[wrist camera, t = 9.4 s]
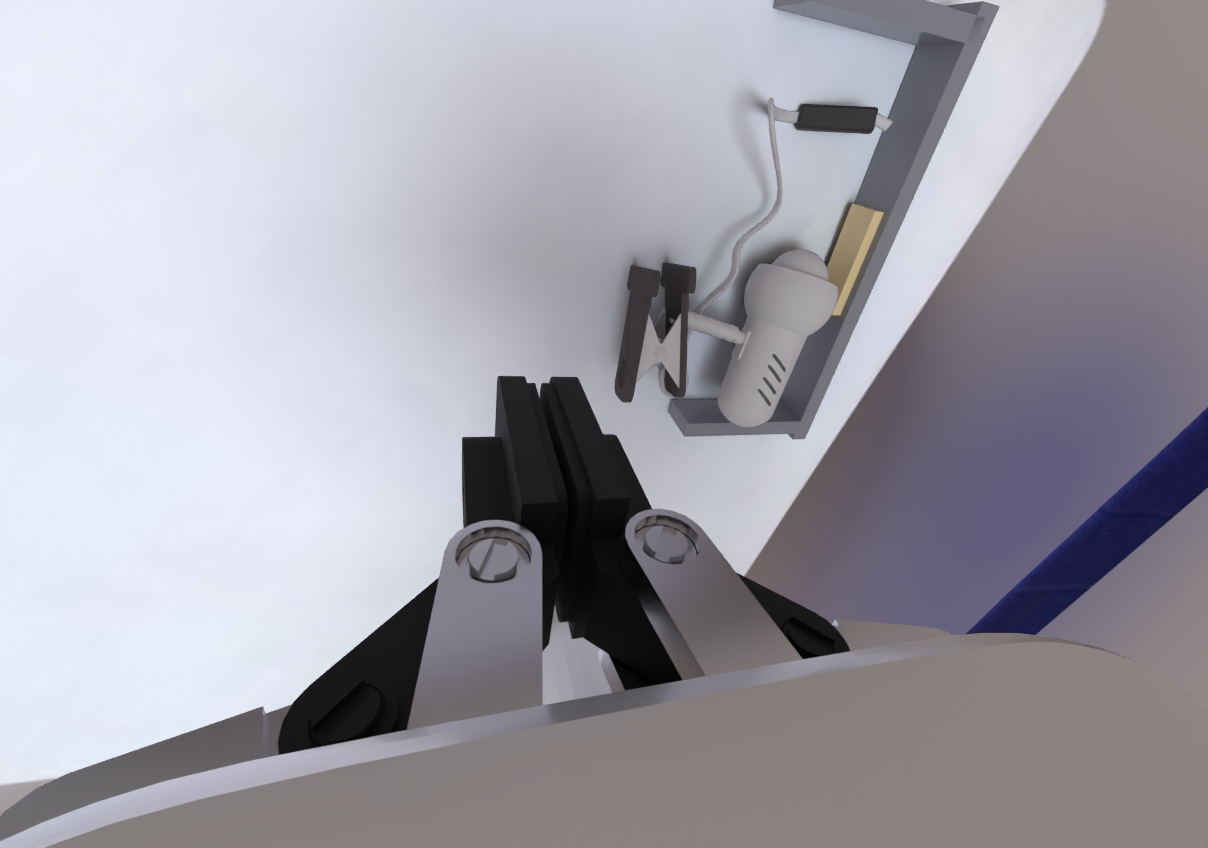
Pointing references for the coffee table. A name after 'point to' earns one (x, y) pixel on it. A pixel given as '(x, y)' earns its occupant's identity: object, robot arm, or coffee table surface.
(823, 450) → the coffee table surface
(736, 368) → the clip-on lamp
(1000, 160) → the coffee table surface
